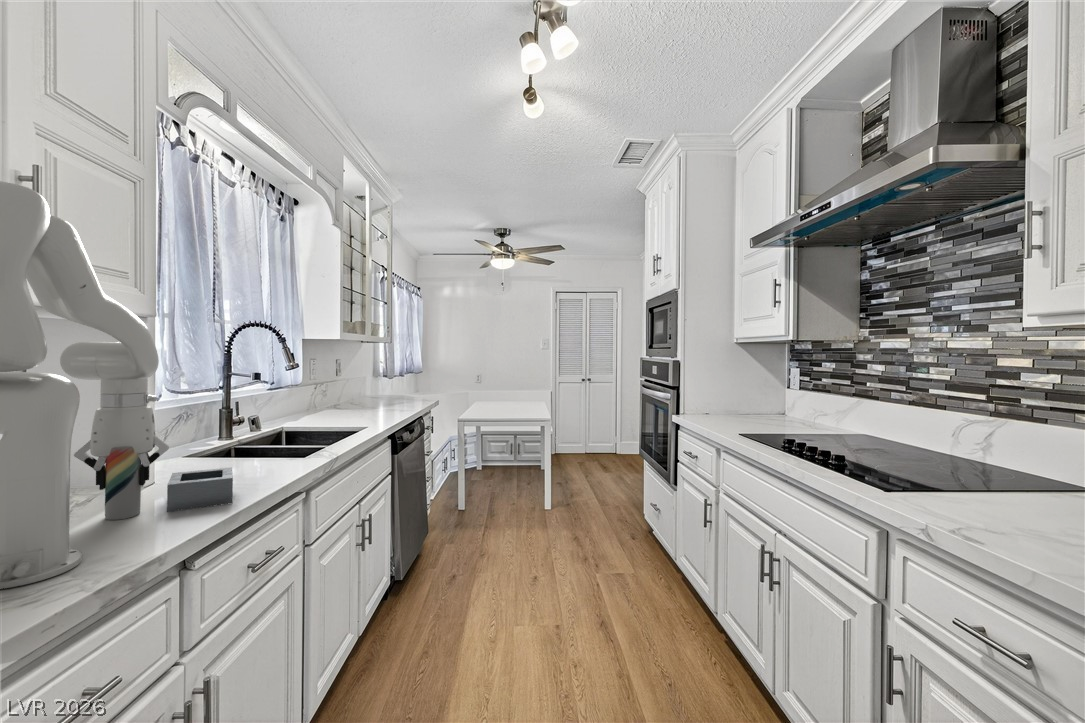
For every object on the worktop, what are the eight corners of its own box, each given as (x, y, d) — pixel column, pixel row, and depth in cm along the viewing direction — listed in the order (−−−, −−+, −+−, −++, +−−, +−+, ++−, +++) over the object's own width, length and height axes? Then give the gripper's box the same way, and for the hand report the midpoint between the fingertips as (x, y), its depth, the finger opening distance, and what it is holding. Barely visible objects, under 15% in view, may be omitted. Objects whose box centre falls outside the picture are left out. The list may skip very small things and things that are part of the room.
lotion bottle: (114, 512, 102) (115, 420, 102) (145, 510, 104) (147, 420, 104) (98, 521, 97) (99, 424, 97) (131, 519, 98) (133, 424, 98)
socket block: (232, 503, 110) (232, 477, 110) (167, 511, 103) (167, 484, 103) (231, 490, 120) (232, 467, 120) (172, 497, 113) (172, 473, 113)
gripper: (176, 398, 108) (175, 477, 108) (73, 401, 98) (72, 487, 99) (174, 401, 102) (172, 484, 102) (63, 404, 92) (61, 496, 92)
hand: (123, 485), depth 100 cm, fingers closed on lotion bottle, 5 cm apart
